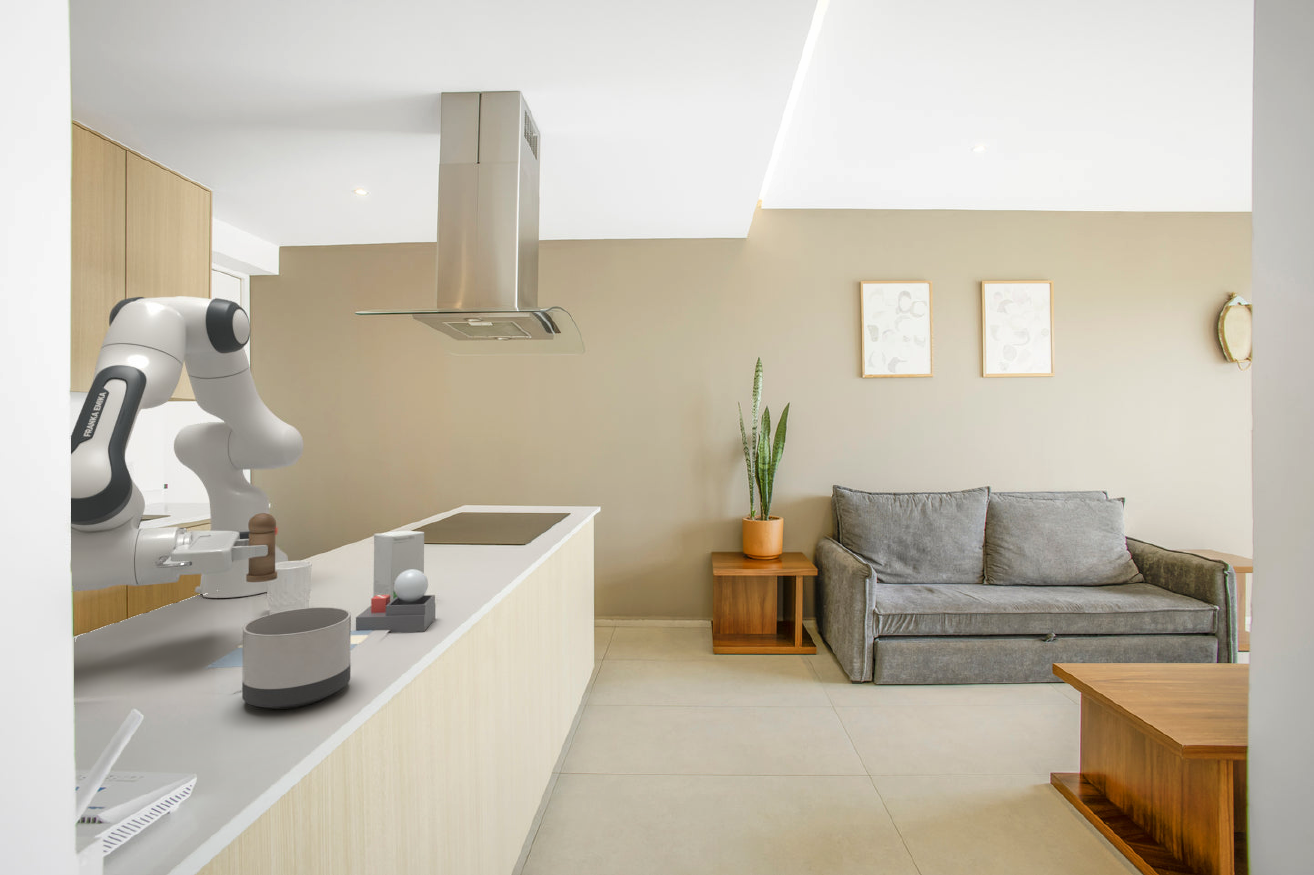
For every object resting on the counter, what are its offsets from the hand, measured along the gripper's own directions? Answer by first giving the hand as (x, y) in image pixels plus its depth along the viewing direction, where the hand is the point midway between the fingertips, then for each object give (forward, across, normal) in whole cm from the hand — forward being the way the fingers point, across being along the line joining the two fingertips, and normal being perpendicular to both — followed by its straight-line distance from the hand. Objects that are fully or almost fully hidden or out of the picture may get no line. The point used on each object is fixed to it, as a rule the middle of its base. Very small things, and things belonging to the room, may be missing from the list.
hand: (268, 547), depth 102 cm
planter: (+4, -26, +17) cm, 31 cm away
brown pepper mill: (-1, 0, +5) cm, 5 cm away
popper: (+21, 0, +17) cm, 27 cm away
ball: (+23, -1, +12) cm, 26 cm away
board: (+4, -6, +17) cm, 18 cm away
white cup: (+3, +19, +17) cm, 26 cm away
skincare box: (+23, +14, +17) cm, 32 cm away
